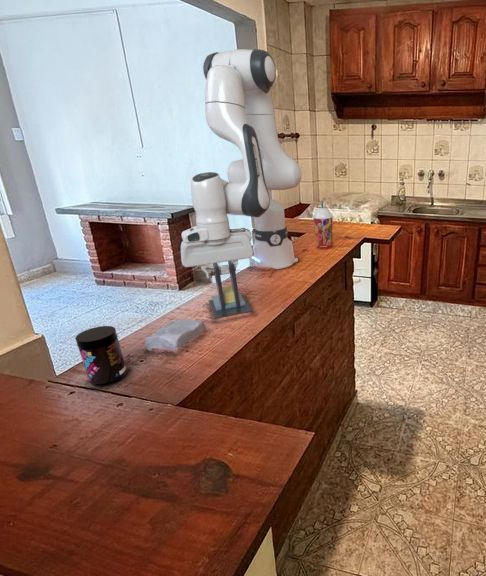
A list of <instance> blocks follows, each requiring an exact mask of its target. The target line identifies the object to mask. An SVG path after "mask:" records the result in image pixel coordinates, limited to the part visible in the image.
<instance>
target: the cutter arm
mask: <svg viewBox="0 0 486 576" xmlns="http://www.w3.org/2000/svg"><path fill="white" fill-rule="evenodd" d="M218 266H219V271H220V276H223V275H230V271H229V265H228V264H223V265H218ZM210 271H211V273H212V277H215V274H213V270H210Z"/></svg>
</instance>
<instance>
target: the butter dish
mask: <svg viewBox="0 0 486 576" xmlns="http://www.w3.org/2000/svg"><path fill="white" fill-rule="evenodd" d="M222 290H223V296H224V302H225V308H226V309H227V308H233V307H237V306H236V303H235V298H234V292H233V290H232V284H231V285H226V286H222ZM238 294H239V301H240V306H243V305H246V304H245V301H244V300H243V298H242V296H241V295H242V294H241V293H240V291H239V290H238ZM211 300H213V303H214V306H215V309H216V311H217V310H222V308H221V305H220V302H219V297H218V294H216V295H211Z"/></svg>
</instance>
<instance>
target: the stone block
mask: <svg viewBox="0 0 486 576" xmlns="http://www.w3.org/2000/svg"><path fill="white" fill-rule="evenodd" d="M205 330H206V325H205V323H204V321H202V320H196V319H192V318H190V319H189V318H182V319H176V320H173V321H172V320H171V321H170V322H168V323H167V324H165V325H163V326H161V327H160V328H159V329H158V330H156V332H155V333H152V334H151V335H149V336H146V337H144V345H145V347H146V349H147V351H149V352H152V349H160V350H162V349H163V350H167V351H168V350H169V351H178V350H180V349H181V348H182V347H183V346H185V345H186V344H188V343H190V341H191V340H193V339H194V338H195V337H197V336H198V335H199V334H201V333H202V332H204V331H205Z"/></svg>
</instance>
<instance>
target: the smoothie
mask: <svg viewBox="0 0 486 576" xmlns="http://www.w3.org/2000/svg"><path fill="white" fill-rule="evenodd" d="M320 206H321V207H319V208H317V209H316V211H314V214H313V216H312V219H313V225H314V234H315V240H316V246H317V247H318V249H322V250H323V249H324V250H325V249H330V248H332V245H333V219H334V218H333V217H334V216H333V214H332V213H331V211H330V210H329V209H328V208H326V207H324V201H323V200H322V201H320ZM330 245H331V246H330ZM320 246H327V247H320Z"/></svg>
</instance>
